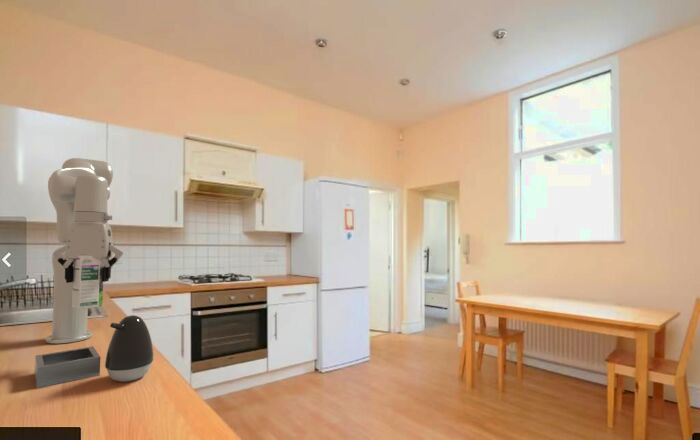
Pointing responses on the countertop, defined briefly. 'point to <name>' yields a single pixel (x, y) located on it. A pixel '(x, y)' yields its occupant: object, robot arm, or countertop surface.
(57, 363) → the gray square open frame
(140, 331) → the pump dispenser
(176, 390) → the countertop surface
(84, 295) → the syrup box
